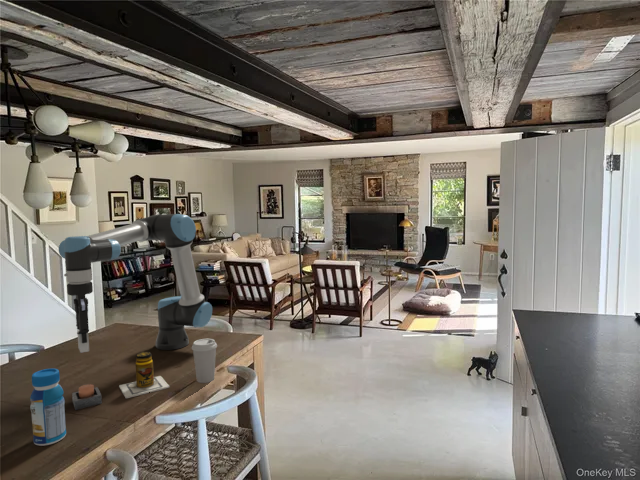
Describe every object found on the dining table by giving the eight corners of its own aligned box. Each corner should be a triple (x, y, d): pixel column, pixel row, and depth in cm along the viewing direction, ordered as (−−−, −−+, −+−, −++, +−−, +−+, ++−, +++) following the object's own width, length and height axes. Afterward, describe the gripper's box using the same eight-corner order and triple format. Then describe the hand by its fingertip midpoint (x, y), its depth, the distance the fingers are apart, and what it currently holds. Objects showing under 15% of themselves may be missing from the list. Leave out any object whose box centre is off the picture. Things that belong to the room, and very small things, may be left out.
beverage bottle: (62, 444, 123) (57, 376, 122) (28, 449, 121) (23, 379, 119) (70, 429, 131) (66, 365, 130) (38, 433, 129) (33, 368, 127)
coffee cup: (208, 386, 161) (207, 346, 160) (187, 382, 165) (185, 344, 163) (223, 376, 170) (221, 339, 169) (202, 373, 174) (201, 336, 172)
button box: (98, 395, 155) (97, 387, 155) (101, 403, 148) (101, 394, 148) (72, 401, 150) (72, 392, 150) (75, 410, 144) (74, 401, 144)
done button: (93, 391, 152) (92, 383, 152) (95, 395, 149) (94, 387, 148) (78, 394, 150) (77, 386, 150) (79, 399, 146) (79, 390, 146)
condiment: (146, 390, 157) (144, 357, 156) (127, 387, 160) (125, 355, 159) (159, 382, 164) (158, 351, 163) (141, 379, 167) (139, 349, 166)
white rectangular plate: (160, 377, 170) (160, 375, 170) (169, 387, 161) (169, 385, 160) (119, 387, 162) (119, 385, 162) (125, 398, 152) (125, 396, 152)
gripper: (64, 280, 150) (68, 345, 152) (69, 287, 137) (74, 359, 139) (88, 277, 155) (92, 341, 157) (95, 284, 141) (99, 354, 143)
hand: (83, 349), depth 148 cm, fingers open, 3 cm apart
